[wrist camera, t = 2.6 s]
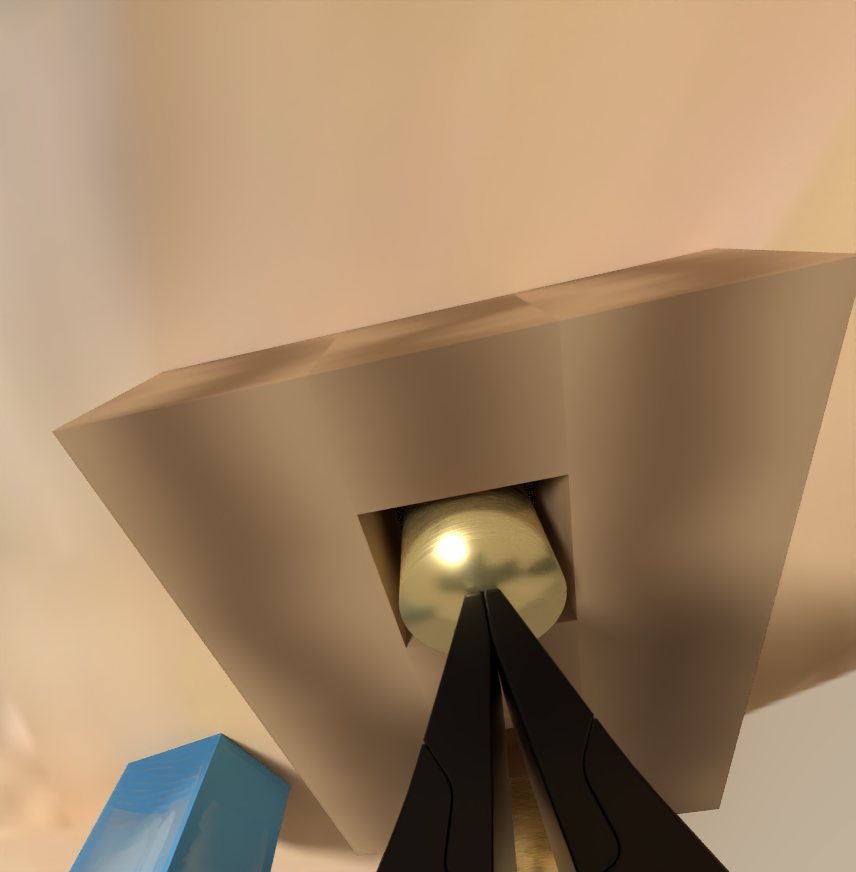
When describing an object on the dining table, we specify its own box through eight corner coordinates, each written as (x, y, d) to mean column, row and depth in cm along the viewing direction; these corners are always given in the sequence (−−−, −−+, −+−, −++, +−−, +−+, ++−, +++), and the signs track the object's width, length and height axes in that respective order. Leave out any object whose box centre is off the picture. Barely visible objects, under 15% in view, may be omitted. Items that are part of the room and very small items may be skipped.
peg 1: (519, 441, 12) (562, 522, 8) (531, 541, 14) (570, 642, 10) (390, 466, 12) (379, 556, 9) (418, 562, 14) (419, 667, 10)
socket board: (715, 248, 11) (865, 254, 7) (666, 708, 20) (719, 808, 17) (162, 372, 12) (51, 431, 8) (366, 753, 22) (357, 855, 18)
